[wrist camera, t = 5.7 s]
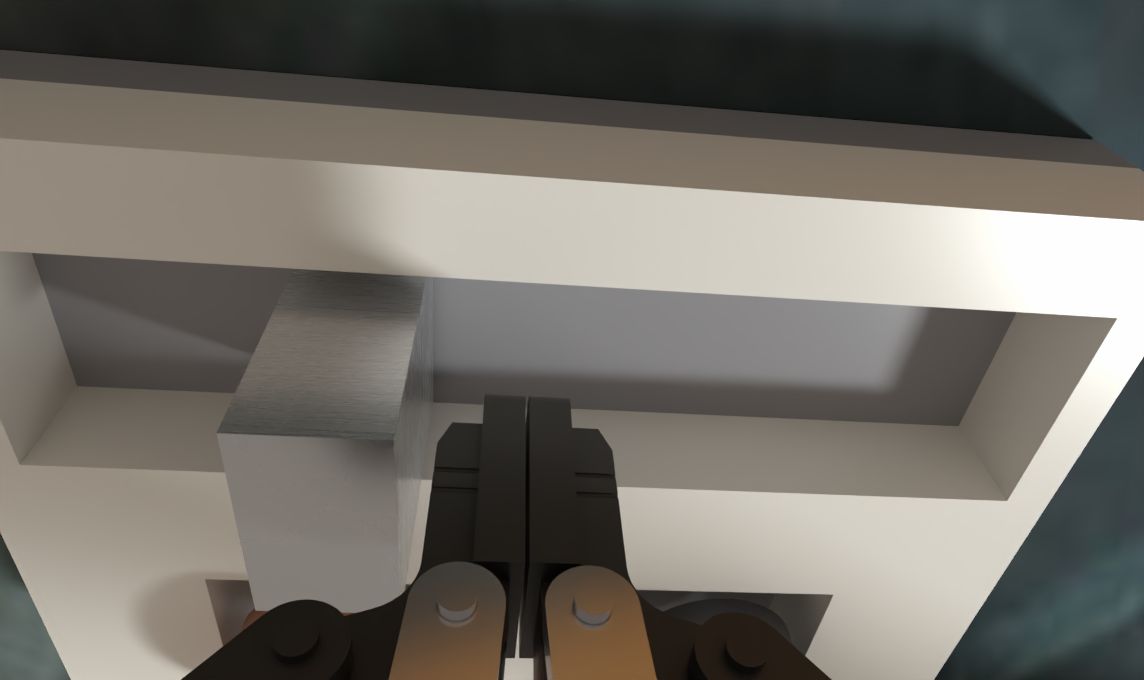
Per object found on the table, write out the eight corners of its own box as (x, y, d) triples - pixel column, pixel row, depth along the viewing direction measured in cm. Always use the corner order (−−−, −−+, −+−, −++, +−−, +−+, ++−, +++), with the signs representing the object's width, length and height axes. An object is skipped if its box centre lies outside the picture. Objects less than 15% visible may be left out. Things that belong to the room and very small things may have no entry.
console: (1095, 139, 17) (1227, 227, 14) (846, 634, 28) (888, 749, 24) (-40, 46, 15) (-197, 124, 12) (156, 620, 25) (102, 744, 22)
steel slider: (432, 245, 16) (393, 440, 11) (433, 399, 18) (401, 613, 13) (307, 237, 15) (216, 433, 11) (325, 394, 18) (255, 611, 13)
